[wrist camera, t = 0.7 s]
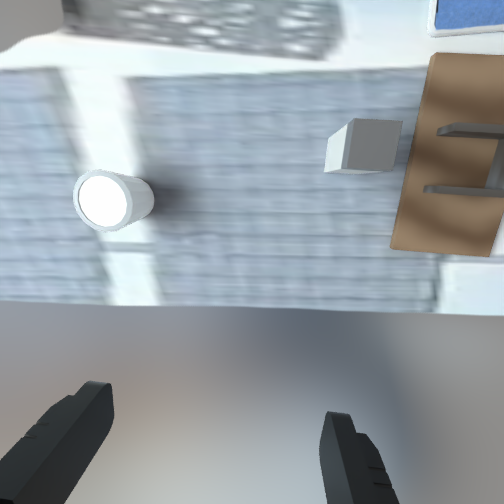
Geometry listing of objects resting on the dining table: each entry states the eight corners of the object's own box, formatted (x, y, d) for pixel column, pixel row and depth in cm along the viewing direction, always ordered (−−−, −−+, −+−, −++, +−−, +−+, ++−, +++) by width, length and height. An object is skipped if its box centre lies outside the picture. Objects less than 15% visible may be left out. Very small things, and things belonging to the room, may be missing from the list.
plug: (328, 138, 31) (354, 118, 22) (361, 140, 31) (402, 121, 21) (323, 172, 32) (346, 167, 23) (355, 174, 32) (392, 170, 23)
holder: (430, 56, 28) (456, 36, 25) (543, 61, 28) (587, 42, 24) (389, 247, 34) (404, 255, 30) (482, 254, 34) (510, 264, 30)
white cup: (169, 200, 35) (144, 204, 28) (136, 233, 36) (105, 244, 29) (132, 160, 34) (97, 155, 27) (100, 196, 35) (59, 199, 28)
